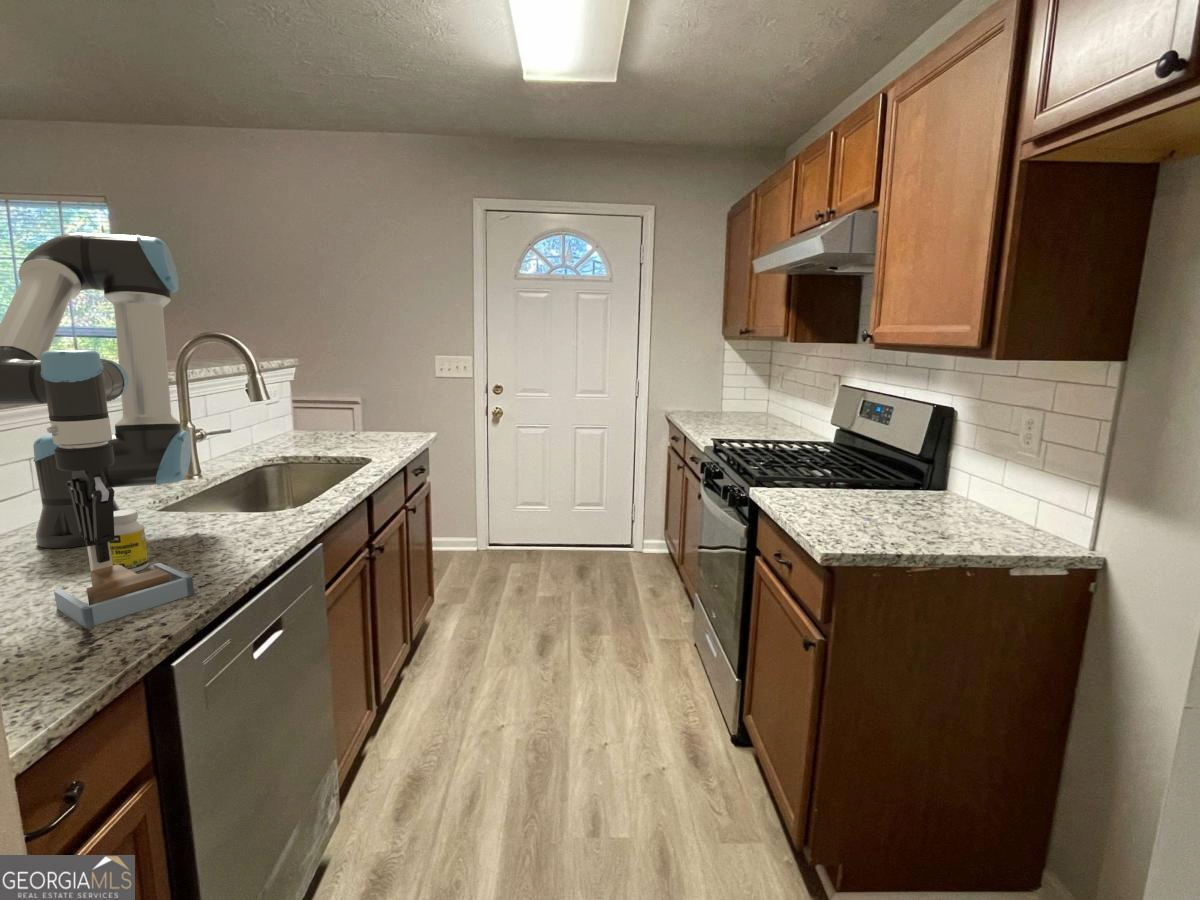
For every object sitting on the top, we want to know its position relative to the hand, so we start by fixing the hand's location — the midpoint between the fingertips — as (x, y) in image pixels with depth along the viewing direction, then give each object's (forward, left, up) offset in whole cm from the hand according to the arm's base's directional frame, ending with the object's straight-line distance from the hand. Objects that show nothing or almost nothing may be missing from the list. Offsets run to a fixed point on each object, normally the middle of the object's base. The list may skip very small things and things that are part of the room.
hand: (103, 578), depth 106 cm
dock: (+9, 0, -2) cm, 9 cm away
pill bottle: (-7, +6, -2) cm, 10 cm away
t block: (+7, 0, -2) cm, 7 cm away
